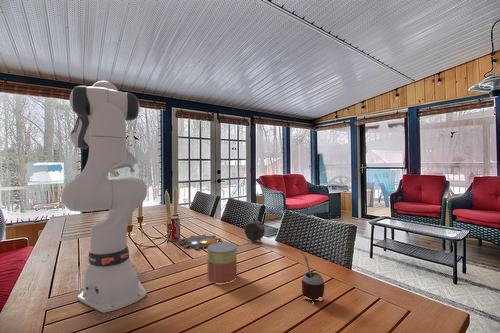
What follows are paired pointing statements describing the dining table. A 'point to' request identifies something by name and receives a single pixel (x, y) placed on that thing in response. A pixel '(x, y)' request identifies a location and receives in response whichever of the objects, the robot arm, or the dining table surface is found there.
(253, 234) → the alarm clock
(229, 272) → the canned food
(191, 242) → the sprocket plate
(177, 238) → the soda can
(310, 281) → the mate gourd
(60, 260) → the dining table surface
